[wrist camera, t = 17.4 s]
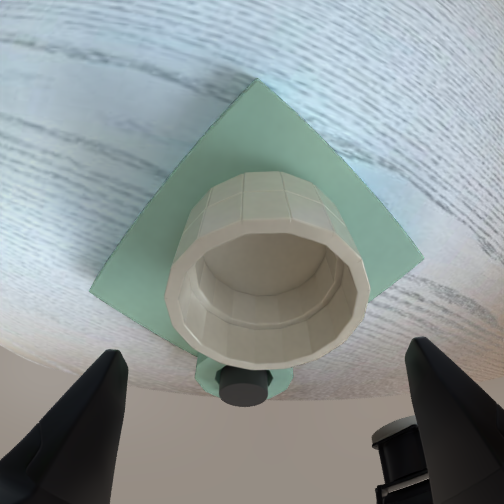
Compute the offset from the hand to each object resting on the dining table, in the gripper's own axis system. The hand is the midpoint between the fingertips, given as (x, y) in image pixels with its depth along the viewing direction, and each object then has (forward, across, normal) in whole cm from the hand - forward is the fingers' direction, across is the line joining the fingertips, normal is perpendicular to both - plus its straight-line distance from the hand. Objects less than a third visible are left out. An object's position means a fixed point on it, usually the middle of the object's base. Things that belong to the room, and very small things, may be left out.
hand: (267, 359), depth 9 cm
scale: (+8, +1, +2) cm, 8 cm away
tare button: (+5, +1, +9) cm, 10 cm away
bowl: (+7, 0, 0) cm, 7 cm away
